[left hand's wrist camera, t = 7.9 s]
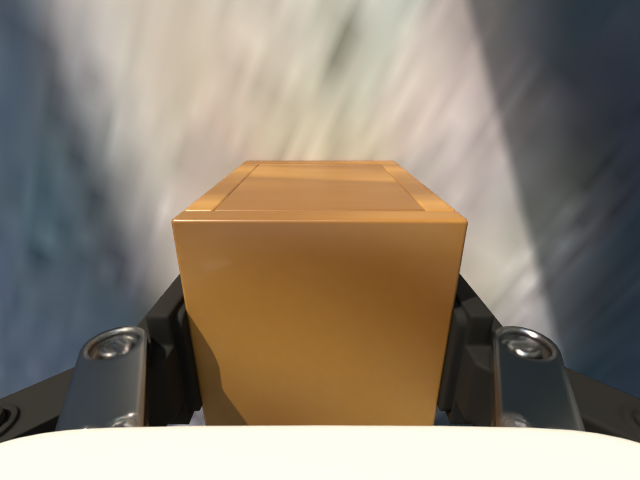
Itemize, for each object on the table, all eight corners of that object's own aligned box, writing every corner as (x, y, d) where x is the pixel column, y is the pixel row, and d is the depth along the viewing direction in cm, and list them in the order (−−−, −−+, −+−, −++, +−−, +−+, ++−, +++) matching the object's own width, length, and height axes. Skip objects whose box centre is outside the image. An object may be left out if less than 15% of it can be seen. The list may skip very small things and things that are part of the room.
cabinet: (370, 463, 21) (396, 652, 14) (269, 463, 21) (242, 652, 14) (394, 160, 14) (469, 220, 7) (245, 160, 14) (169, 219, 7)
